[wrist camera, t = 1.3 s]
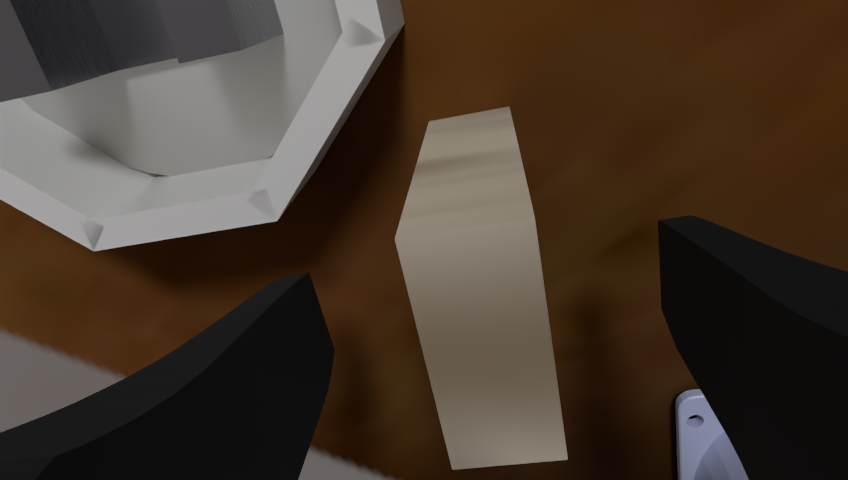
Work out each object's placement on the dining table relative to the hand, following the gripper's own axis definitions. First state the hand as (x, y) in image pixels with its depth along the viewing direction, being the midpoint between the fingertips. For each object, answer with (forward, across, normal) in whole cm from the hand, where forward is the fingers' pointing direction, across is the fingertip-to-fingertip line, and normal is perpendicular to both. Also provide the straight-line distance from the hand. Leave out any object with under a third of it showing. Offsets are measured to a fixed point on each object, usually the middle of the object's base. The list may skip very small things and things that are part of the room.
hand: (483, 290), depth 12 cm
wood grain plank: (+5, 0, 0) cm, 5 cm away
